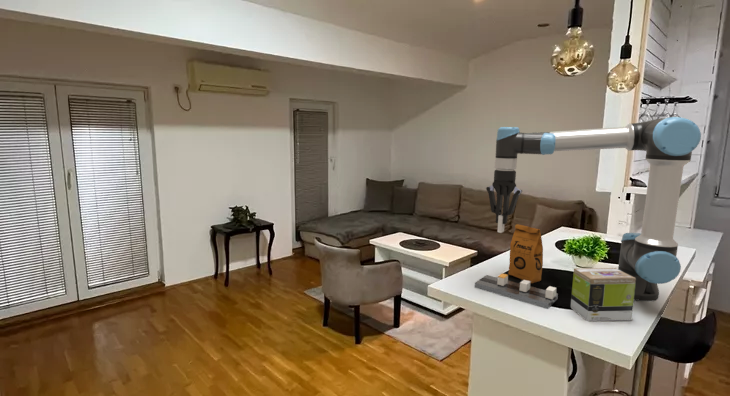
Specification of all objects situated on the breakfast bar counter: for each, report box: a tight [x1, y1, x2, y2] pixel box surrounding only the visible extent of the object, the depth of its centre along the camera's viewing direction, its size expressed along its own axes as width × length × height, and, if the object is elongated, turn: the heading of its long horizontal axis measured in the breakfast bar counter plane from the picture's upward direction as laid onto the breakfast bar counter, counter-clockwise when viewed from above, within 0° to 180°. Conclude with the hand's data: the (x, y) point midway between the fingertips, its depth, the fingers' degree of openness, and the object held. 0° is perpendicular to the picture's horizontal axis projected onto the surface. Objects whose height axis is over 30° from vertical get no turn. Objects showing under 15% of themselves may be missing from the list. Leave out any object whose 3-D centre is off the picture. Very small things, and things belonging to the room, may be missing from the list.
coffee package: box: [507, 223, 544, 284], centre depth 159 cm, size 10×12×22 cm
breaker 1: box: [497, 273, 509, 286], centre depth 148 cm, size 2×4×3 cm, turn 139°
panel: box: [474, 274, 559, 310], centre depth 145 cm, size 28×11×2 cm, turn 49°
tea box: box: [570, 267, 636, 322], centre depth 128 cm, size 15×10×15 cm, turn 92°
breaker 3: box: [545, 285, 557, 299], centre depth 137 cm, size 2×4×3 cm, turn 139°
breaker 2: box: [519, 280, 531, 292], centre depth 143 cm, size 2×4×3 cm, turn 139°
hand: (500, 231), depth 146 cm, fingers closed
